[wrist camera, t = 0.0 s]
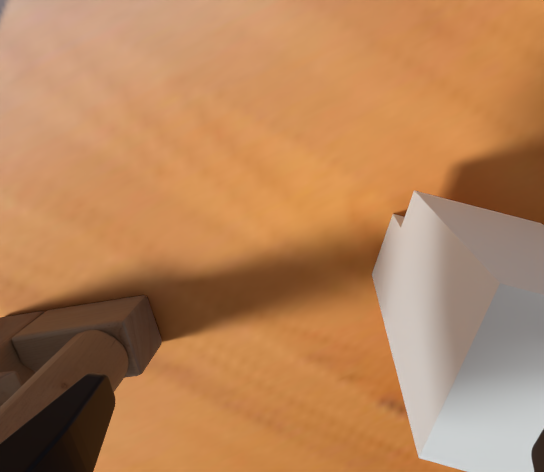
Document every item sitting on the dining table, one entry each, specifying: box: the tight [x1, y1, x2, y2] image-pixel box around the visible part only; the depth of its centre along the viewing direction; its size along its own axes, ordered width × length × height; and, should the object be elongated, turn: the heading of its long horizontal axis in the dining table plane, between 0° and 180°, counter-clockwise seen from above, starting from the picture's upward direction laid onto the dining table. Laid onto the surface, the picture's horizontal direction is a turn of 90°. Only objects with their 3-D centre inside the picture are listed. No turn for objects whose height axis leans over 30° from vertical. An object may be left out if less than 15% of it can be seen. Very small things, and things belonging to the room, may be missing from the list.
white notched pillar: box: [372, 191, 544, 472], centre depth 17 cm, size 6×6×13 cm
